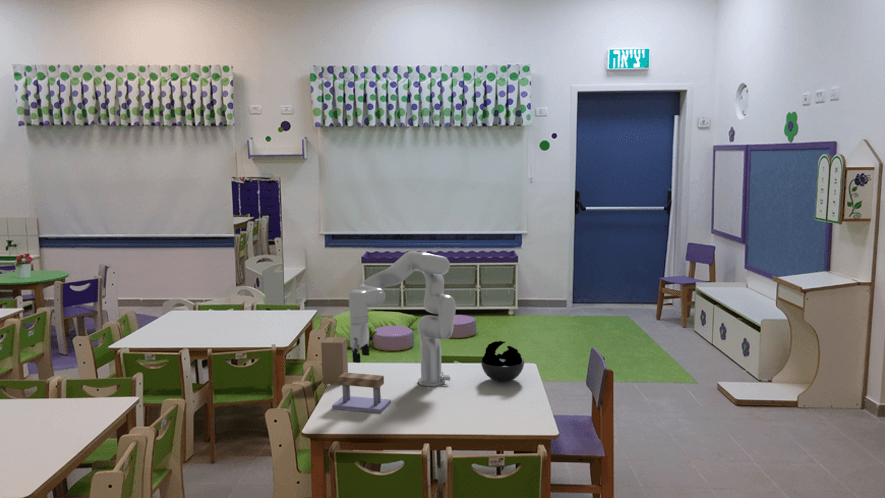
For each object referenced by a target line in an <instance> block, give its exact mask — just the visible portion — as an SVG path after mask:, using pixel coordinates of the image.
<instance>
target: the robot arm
mask: <svg viewBox="0 0 885 498" xmlns="http://www.w3.org/2000/svg"><path fill="white" fill-rule="evenodd" d="M450 267H451V263H450V260H449V259H448V258H447V257H445V256H444V255H443V256H442V255H436V254H432V253H427V252H424V251H422V252H420V251H415V250H414V251H413V250H411V251H407V252H405V253H404V254H403V255H402V256H400V257H399V258H398V259H397V260H396V261H395V262H394V263H393V264H391V265H390V266H389V267H388V268H386V269H384V270H381V271H380V272H379V271H378V272H377V273H375V274H373V275H370V276H369V277H367V278H366V279H365V280H364V281H363V282H361V283H360V285H358V287H357V288H356V289H353V290H350V291H349V293H348V307H349V322H350V329H349V345H350V346H349V347H350V349H351V354H352V363H357V364H360V363H361V355H362V356H370V343H369V342H370V333H369V324H368V323H369V312H368V311H369V308H368V307H369V306H370V307H372V306H373V307H374V306H379V305H381V304H383V303H384V302H385V300H386V296H387V295H386V292H385V290H384V289H383V288H387V287H393V286H397V285H400V284H401V283H403V282H404V281H405V280H406V279H407V278H408V277H409V276H410V275H412V273H414V272H421V273H422V274H423V276H424V278H425V279H424V280H425V290H424V291H425V292H424V297H423V308H424V310H425V311H426V312H428V313H430V314H434V315H423V316H422V317H421V318H420V319H419V320H418V323H417V331H418V335H419V336H418V337H419V342H420V376H421V377H419V378H418V379H417V384H419V385H420V386H424V387H438V386H441V385H444V384H445V383H446V381H449V382H450V381H451V376H450V375H449V374H444V371H442V343H441V340H442V341H443V340H445V341H446V340H448V339H450V337H452V334H453V332H454V326H455V320H456V319H455V318H456V310H457V309H456V308H457V304H456V301H455V299H454V297H453V296H452V295H449V294H445V279H444V275H447V273H448V272H449V270H450ZM435 314H436V315H438V316H435ZM360 350H361V352H360Z"/></svg>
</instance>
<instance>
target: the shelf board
mask: <svg viewBox="0 0 885 498" xmlns="http://www.w3.org/2000/svg"><path fill="white" fill-rule="evenodd" d="M384 384H385V376H384V375H380V374H379V375H378V374H367V373H356V372H348V373H346V372H345V373H343V374H342V375H341V376H339V384H338V385H340V386H342V385H348V386H350V387H361V388H370V389H373V388H379V387H380V388H381V387H382V386H383V385H384Z"/></svg>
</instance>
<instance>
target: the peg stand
mask: <svg viewBox="0 0 885 498" xmlns="http://www.w3.org/2000/svg"><path fill="white" fill-rule="evenodd" d="M341 386H342V387H341V388H342V396H341V397H340V398H339V399H338V400H337V401H335V402H334V403H333V404H332V405H331V407H332V410H343V411H355V412H364V413H365V412H367V413H375V414H376V413H377V414H382V413H383V412H384V411H385V410H386V409H387V408H388V407H389V406H390V405H391V404H392V399H388V398H387V399H386V398H381V397H382V396H381V395H382V394H381V387H379V388H372V390H373V392H372V393H373V394H372V395H373V397H364V396H352V395H351V386H348V385H341Z"/></svg>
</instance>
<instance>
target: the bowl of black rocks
mask: <svg viewBox="0 0 885 498" xmlns="http://www.w3.org/2000/svg"><path fill="white" fill-rule="evenodd" d="M505 343H506V341H503V340H496V341H493V342H491V343H489V344H488V345H487V346H486V348H485V352H484V355H483V357H482V358H481V360H480V365H481V368H482V370H483V372H484V373H485V375H486V376H487V377H489V379H491V380H492V381H495V382H497V383H508V382H511V381H514V380H515V379H517V378H518V377H519V376H520V374H521V373H522V371H523V369H524V367H525V366H524V365H525V359H524V358H522V354H521V353H520V352H519V350H518V349H517V348H515V347H513V346H511V345H507V346H506V348H507V350H505V351H503V352H502V353H497V350H498V349H499V348H500V346H502V345H503V344H505ZM496 353H497V354H496Z"/></svg>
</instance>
